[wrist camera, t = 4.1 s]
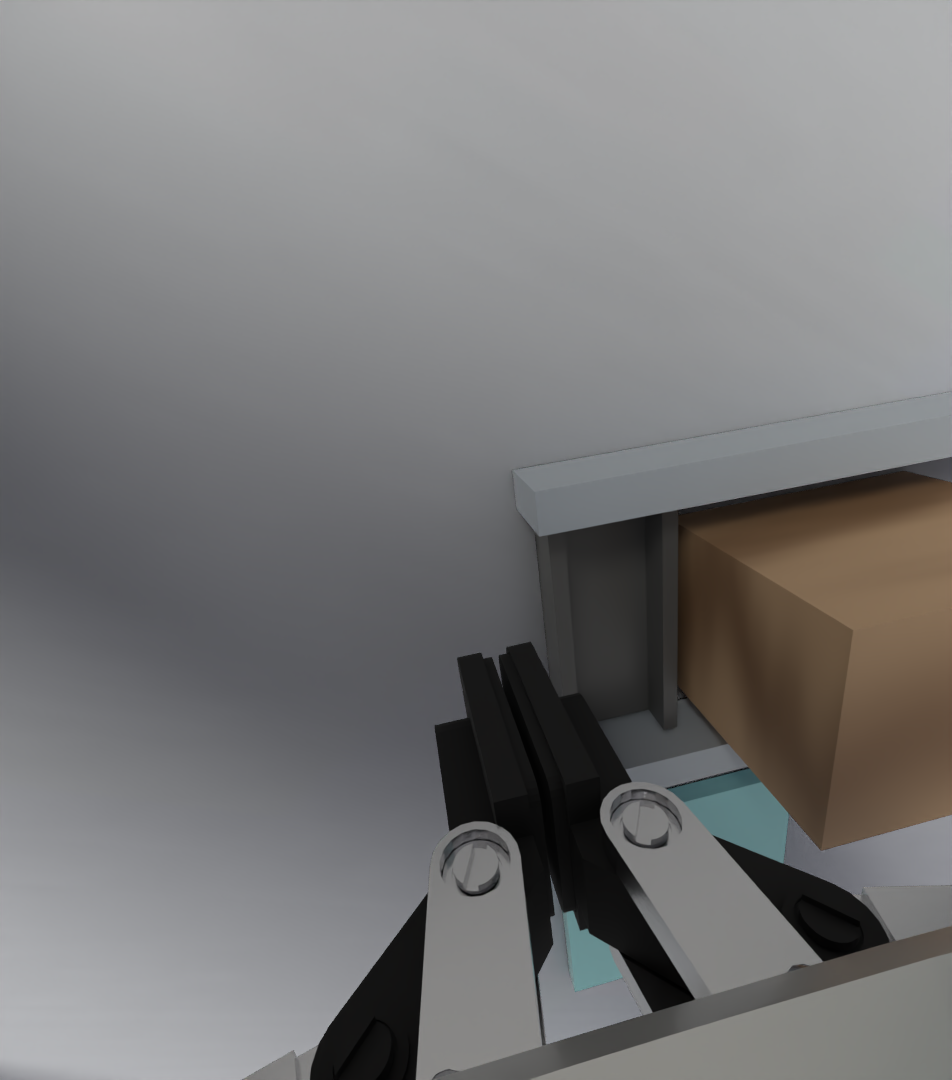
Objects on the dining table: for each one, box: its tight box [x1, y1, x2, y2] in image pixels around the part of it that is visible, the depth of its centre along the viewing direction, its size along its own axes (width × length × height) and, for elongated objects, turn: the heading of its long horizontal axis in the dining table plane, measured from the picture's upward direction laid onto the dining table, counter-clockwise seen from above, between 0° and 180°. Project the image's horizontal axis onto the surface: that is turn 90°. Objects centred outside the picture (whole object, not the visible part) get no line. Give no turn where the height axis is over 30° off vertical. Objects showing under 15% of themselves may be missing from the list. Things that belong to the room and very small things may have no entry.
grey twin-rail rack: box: [512, 392, 952, 788], centre depth 14 cm, size 9×14×2 cm, turn 98°
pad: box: [562, 768, 789, 992], centre depth 19 cm, size 8×8×1 cm
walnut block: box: [677, 471, 952, 851], centre depth 13 cm, size 5×7×6 cm
